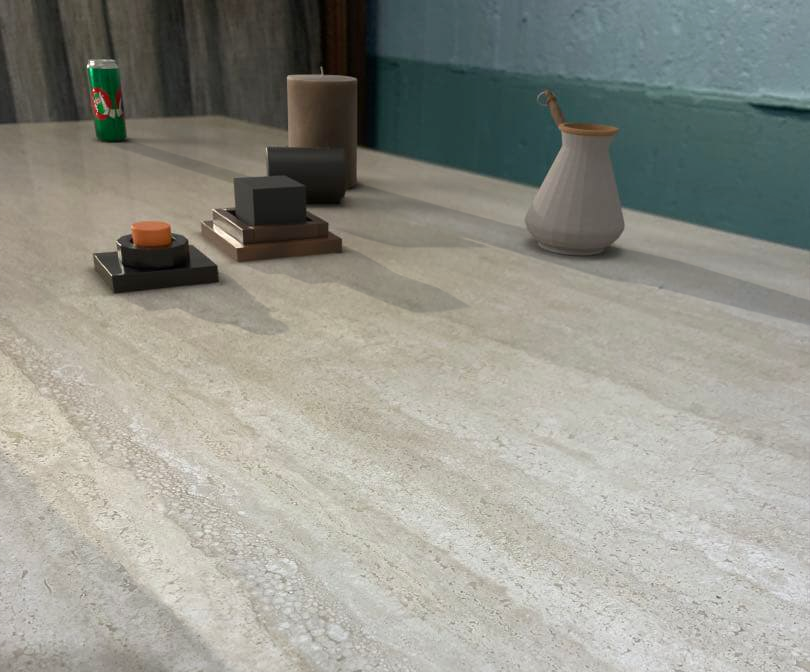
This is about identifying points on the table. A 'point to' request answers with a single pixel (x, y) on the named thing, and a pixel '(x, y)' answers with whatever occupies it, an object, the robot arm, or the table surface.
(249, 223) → the black block
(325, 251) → the tray
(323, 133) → the pillar candle
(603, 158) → the coffee pot
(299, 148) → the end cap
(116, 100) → the soda can
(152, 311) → the table surface
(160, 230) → the button
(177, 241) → the dark piece
